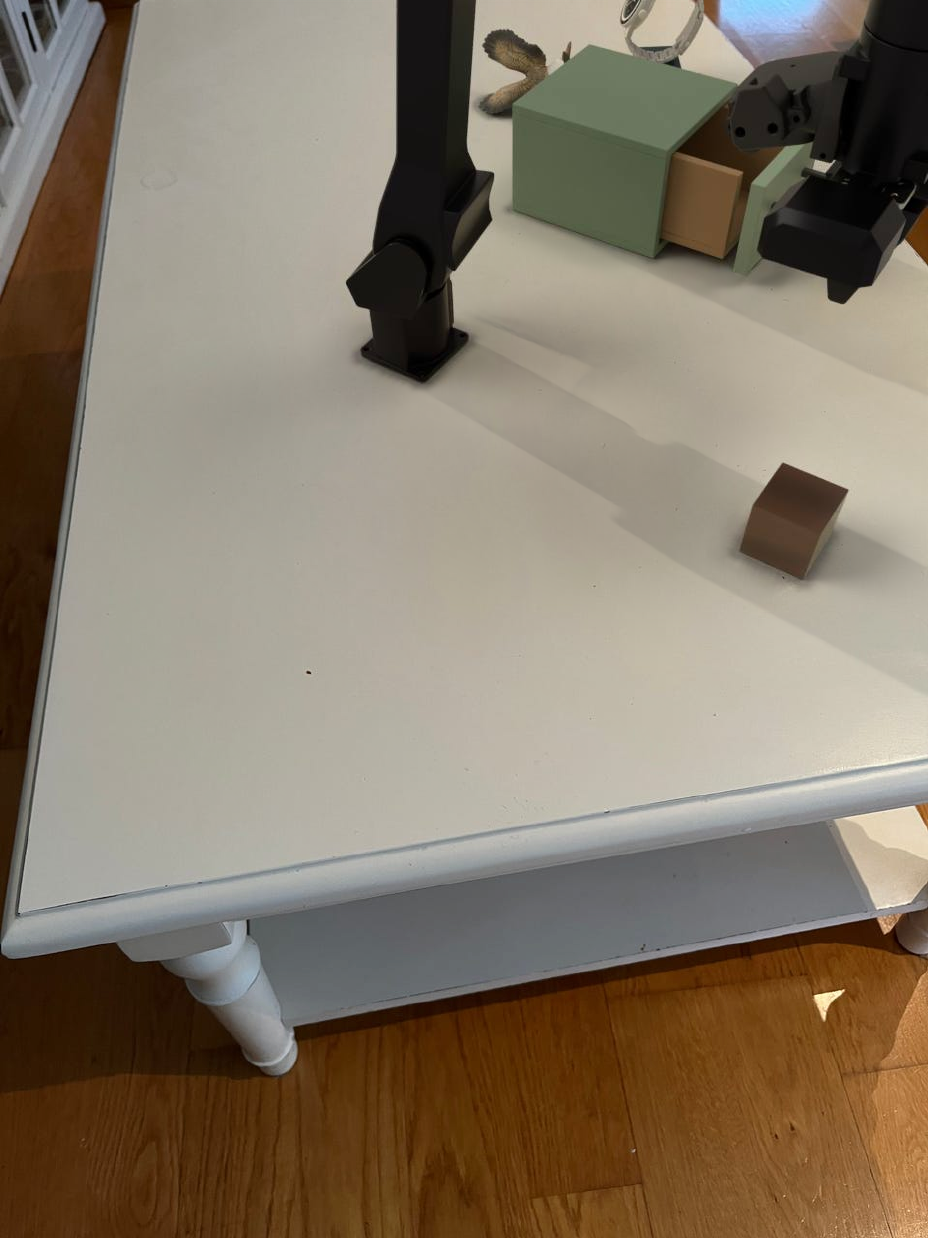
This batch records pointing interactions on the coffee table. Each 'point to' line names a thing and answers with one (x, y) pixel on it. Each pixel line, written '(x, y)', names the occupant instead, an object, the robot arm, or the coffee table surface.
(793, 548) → the block
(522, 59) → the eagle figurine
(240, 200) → the coffee table surface
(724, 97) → the cabinet
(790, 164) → the drawer
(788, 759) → the coffee table surface
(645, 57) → the watch
